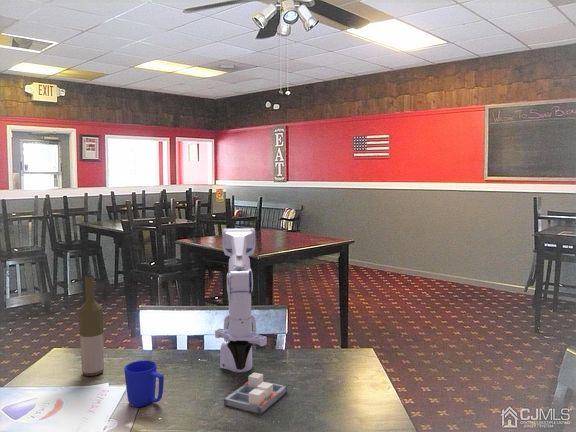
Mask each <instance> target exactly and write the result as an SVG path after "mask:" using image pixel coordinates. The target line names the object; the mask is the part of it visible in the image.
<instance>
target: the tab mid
mask: <svg viewBox="0 0 576 432" xmlns="http://www.w3.org/2000/svg"><path fill="white" fill-rule="evenodd" d="M265 382H266V381H265ZM265 382H262V383H261V384H260V385H258V386H257V389H259V390H263V391H265V398H266V399H268V398H269V396H271V395H272V394H273V384H270V383H271V382H269V383H265Z"/></svg>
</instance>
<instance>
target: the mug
mask: <svg viewBox="0 0 576 432" xmlns="http://www.w3.org/2000/svg"><path fill="white" fill-rule="evenodd" d="M157 366H158V365H157V363H156V362H154V361H152V360H137V361H132V362H130V363H128V364H126V365H125V366H124V367H123V370H124V378H125V380H124V381H125V386H126V395H127V401H128V403H129V405H130V406H132V407H135V408H142V407H147V406H149V405H151V404H152V403H157V402H159V401H161V400H162V398H163V393H164V381H165V376H164V374H162V373H160V372H157ZM157 378H158V391H157V392H158V395H157V398H156V386H157V383H156V382H157Z"/></svg>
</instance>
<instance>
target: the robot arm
mask: <svg viewBox="0 0 576 432" xmlns="http://www.w3.org/2000/svg"><path fill="white" fill-rule="evenodd" d="M221 232H222V234H221V235H222V236H221V237H222V249H223V250H222V252H224V255H225V256H227V257H229V259H228V272H227V274H226V291H227V301H228V313H227V314H225V316H224V317H223V320H224V322H223V328H218V329H216V330H214V337H215V339H220V338H222V339H223V342H222V343H221V346H220V350H219V363H220V364H219V365H220V366H219V367H220V368H221V369H224V370H229V371H231V372H233V373H246V372H249V371H250V370H252V369H253V345H258V346H259V347H264V346H266V345H267V341H268V338H267V336H265V335H261V334H258V333H257V321H256V320H257V319H256V316H255V314H254V313H252V292H253V289H254V278H253V277H254V275H253V270H252V268H251V260H250V256H252V255H254V253H255V250H256V249H255V248H256V229H255V228H254V227H251V228H247V227H246V228H227V227H225V228H223V229H222V231H221Z"/></svg>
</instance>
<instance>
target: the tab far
mask: <svg viewBox="0 0 576 432" xmlns="http://www.w3.org/2000/svg"><path fill="white" fill-rule="evenodd" d="M247 378H248V379H247V380H248V381H247V382H248V386H251V387H256V388H257V386H258V385H260V384H261V383H262V382H263V381H264V374H263V373H259V372H255V371H254V372H253V373H251V374H250V375H248V377H247Z"/></svg>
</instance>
